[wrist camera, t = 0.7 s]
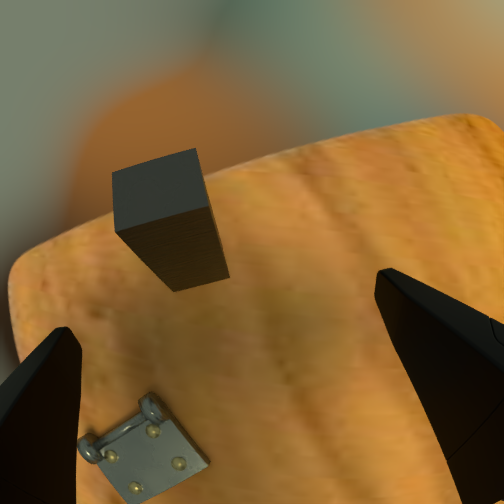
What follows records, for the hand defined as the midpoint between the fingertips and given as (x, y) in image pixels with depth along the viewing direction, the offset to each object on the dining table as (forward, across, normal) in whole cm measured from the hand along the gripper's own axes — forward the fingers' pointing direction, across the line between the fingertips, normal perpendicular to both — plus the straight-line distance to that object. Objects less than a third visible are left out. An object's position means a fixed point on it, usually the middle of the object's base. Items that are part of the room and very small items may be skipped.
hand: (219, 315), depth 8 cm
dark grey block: (+15, +2, +8) cm, 17 cm away
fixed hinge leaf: (+3, +9, +16) cm, 19 cm away
